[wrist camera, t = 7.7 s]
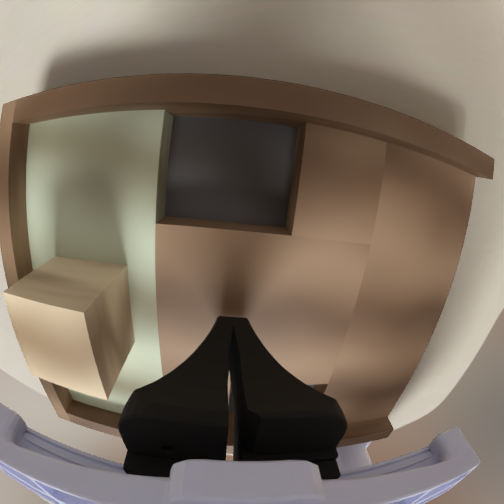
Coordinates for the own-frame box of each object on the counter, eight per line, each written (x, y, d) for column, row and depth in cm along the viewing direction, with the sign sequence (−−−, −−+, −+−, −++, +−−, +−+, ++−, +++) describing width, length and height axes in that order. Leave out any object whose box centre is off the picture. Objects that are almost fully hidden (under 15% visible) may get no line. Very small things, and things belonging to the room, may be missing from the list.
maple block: (134, 341, 13) (107, 400, 9) (68, 327, 13) (31, 374, 9) (127, 265, 12) (83, 312, 8) (55, 256, 12) (3, 292, 7)
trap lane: (373, 409, 19) (387, 437, 16) (74, 389, 17) (59, 417, 14) (456, 155, 13) (494, 159, 10) (39, 110, 11) (3, 104, 7)
